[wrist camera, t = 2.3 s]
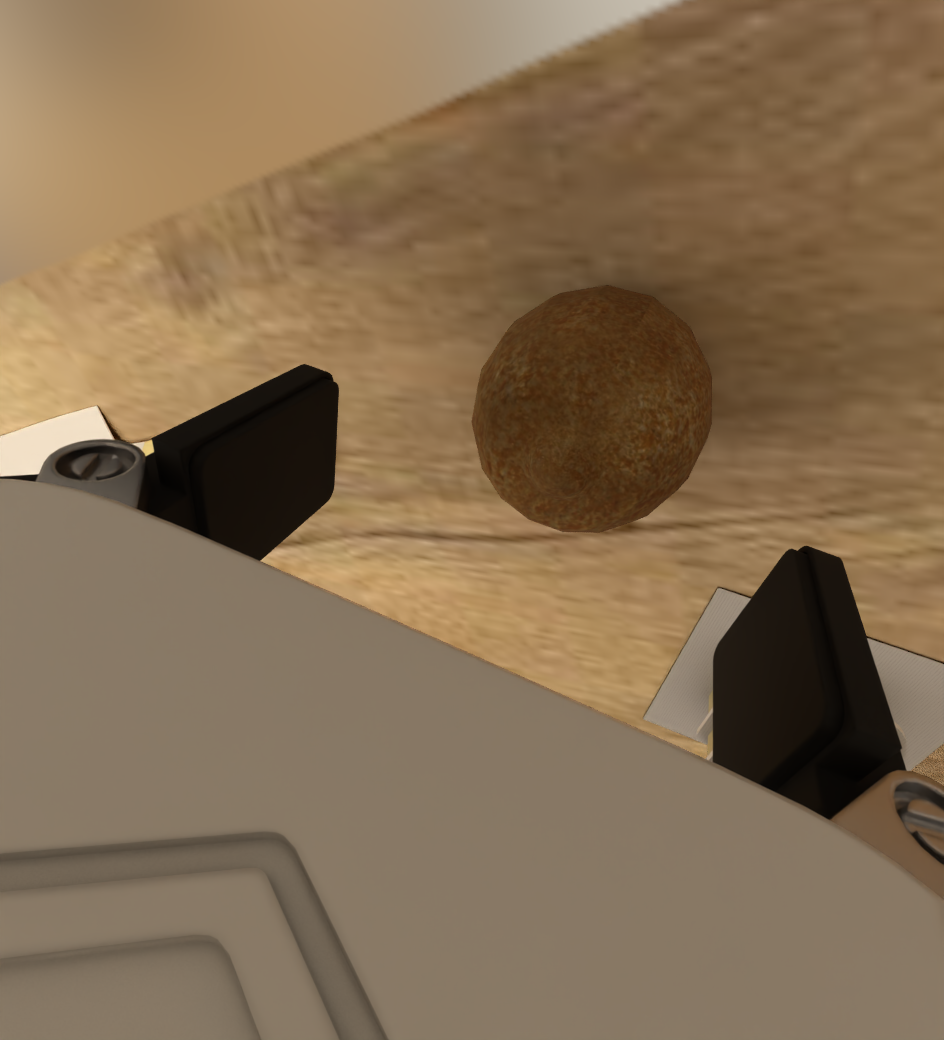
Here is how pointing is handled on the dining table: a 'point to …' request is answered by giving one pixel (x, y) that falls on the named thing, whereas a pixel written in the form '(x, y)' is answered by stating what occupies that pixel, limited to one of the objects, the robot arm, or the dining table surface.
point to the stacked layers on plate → (904, 676)
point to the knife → (53, 440)
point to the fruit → (592, 409)
